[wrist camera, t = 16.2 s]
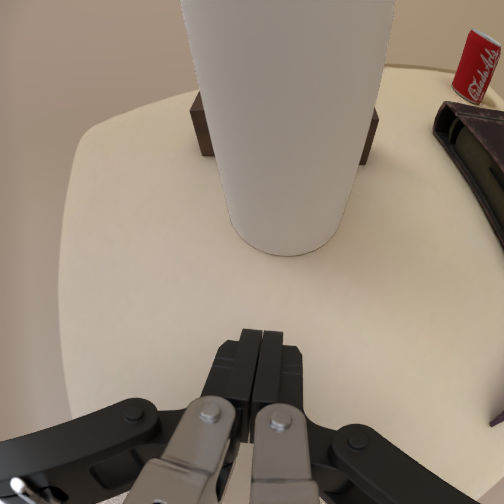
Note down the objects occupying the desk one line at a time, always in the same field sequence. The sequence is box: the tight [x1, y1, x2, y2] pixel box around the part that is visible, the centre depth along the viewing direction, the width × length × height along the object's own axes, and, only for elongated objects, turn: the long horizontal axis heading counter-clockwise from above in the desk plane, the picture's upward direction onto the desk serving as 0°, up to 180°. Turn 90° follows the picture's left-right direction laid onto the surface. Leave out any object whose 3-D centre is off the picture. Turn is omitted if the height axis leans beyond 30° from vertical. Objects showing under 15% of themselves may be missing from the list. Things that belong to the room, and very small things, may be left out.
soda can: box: [452, 28, 501, 104], centre depth 23 cm, size 6×6×12 cm
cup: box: [180, 0, 395, 256], centre depth 13 cm, size 8×8×16 cm
